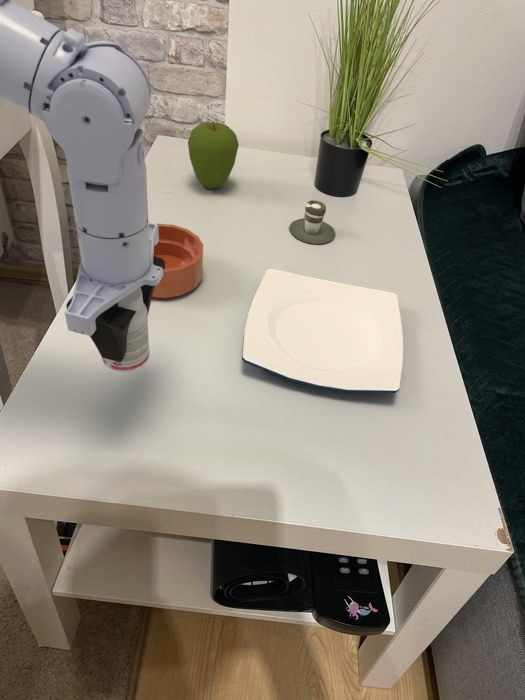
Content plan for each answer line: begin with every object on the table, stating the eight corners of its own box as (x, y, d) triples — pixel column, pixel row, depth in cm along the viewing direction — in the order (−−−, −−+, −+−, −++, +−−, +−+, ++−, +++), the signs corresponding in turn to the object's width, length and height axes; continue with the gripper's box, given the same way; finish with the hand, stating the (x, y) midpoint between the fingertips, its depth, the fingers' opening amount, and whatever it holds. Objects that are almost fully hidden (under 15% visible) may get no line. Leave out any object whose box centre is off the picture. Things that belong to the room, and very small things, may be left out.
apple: (206, 203, 90) (209, 137, 82) (177, 182, 94) (177, 117, 86) (244, 190, 94) (250, 126, 86) (215, 171, 98) (219, 108, 90)
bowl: (115, 298, 70) (112, 268, 66) (128, 250, 78) (125, 220, 74) (199, 303, 71) (201, 274, 68) (203, 255, 79) (204, 227, 76)
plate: (400, 413, 61) (407, 398, 60) (230, 378, 62) (232, 363, 60) (397, 305, 76) (403, 290, 74) (260, 278, 77) (262, 263, 75)
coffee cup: (359, 245, 86) (367, 218, 83) (296, 257, 82) (301, 229, 78) (323, 207, 93) (329, 182, 90) (263, 217, 89) (266, 190, 85)
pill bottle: (159, 353, 54) (157, 289, 48) (128, 381, 51) (122, 316, 45) (123, 333, 56) (117, 269, 50) (91, 359, 53) (80, 294, 47)
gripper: (121, 282, 37) (132, 404, 46) (189, 189, 47) (187, 304, 57) (28, 259, 37) (58, 384, 47) (115, 172, 48) (125, 289, 57)
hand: (124, 339), depth 52 cm, fingers closed on pill bottle, 5 cm apart
